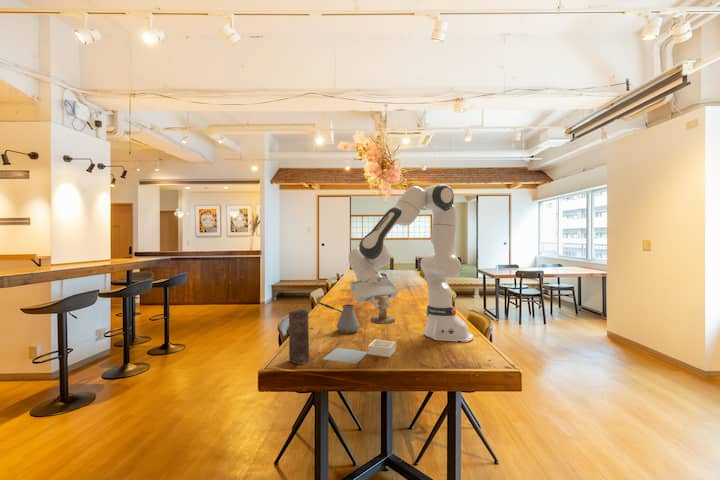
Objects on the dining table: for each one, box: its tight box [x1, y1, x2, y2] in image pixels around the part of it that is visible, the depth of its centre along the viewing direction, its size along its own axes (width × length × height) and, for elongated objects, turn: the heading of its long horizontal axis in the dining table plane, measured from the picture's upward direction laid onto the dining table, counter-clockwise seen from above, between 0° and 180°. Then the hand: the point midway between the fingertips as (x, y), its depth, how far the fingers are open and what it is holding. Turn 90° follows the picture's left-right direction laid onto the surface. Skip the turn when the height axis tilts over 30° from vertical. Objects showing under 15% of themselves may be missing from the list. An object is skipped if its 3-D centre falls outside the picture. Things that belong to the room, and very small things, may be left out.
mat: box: [322, 347, 368, 365], centre depth 135 cm, size 14×14×1 cm
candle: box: [288, 308, 310, 365], centre depth 129 cm, size 8×7×20 cm
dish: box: [367, 338, 397, 358], centre depth 139 cm, size 9×9×4 cm
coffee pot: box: [316, 301, 360, 334], centre depth 171 cm, size 21×12×15 cm, turn 97°
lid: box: [369, 296, 396, 325], centre depth 139 cm, size 10×10×10 cm
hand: (383, 306), depth 139 cm, fingers closed on lid, 3 cm apart
